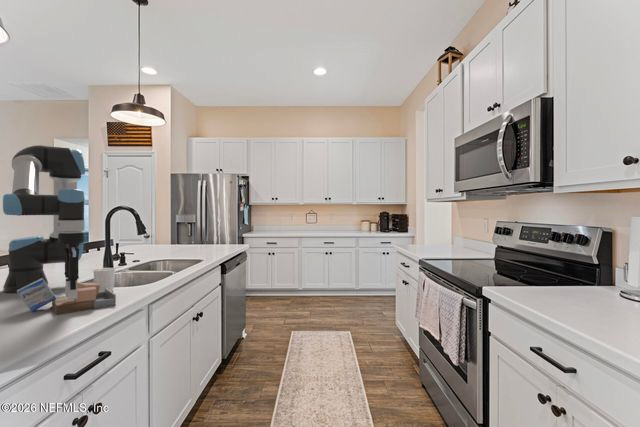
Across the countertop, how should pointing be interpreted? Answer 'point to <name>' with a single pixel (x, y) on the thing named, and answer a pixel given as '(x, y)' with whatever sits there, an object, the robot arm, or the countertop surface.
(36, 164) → the robot arm
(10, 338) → the countertop surface
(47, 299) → the medicine box
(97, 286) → the tile
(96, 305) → the tray
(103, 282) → the white cup
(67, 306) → the walnut plate
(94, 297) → the tile
